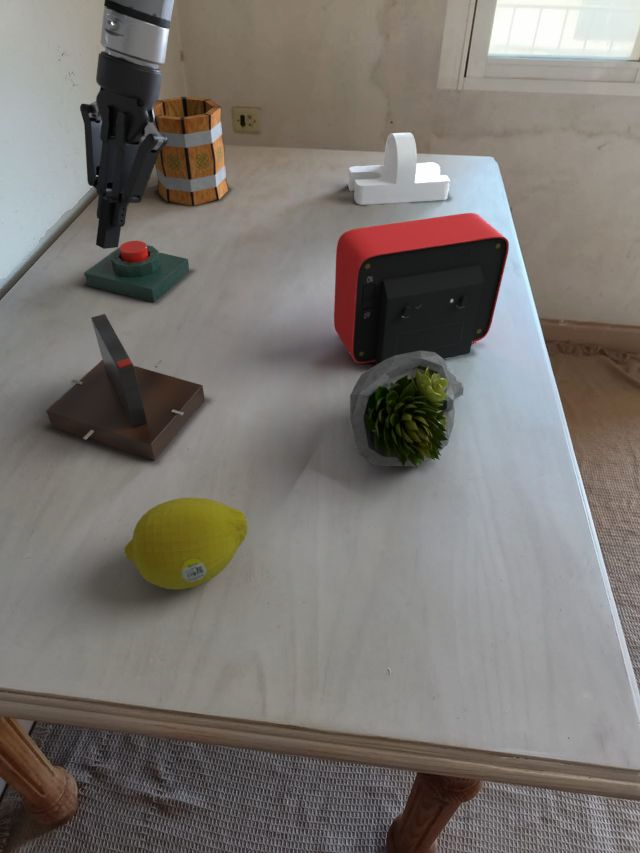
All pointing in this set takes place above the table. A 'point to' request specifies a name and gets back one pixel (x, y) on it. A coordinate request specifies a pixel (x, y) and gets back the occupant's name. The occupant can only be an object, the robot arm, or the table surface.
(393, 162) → the white caddy with handle
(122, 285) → the button block
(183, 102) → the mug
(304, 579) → the table surface
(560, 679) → the table surface
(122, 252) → the button
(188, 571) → the lemon
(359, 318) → the alarm clock
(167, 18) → the robot arm
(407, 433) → the potted plant
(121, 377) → the dark grey slab
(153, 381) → the dial panel
